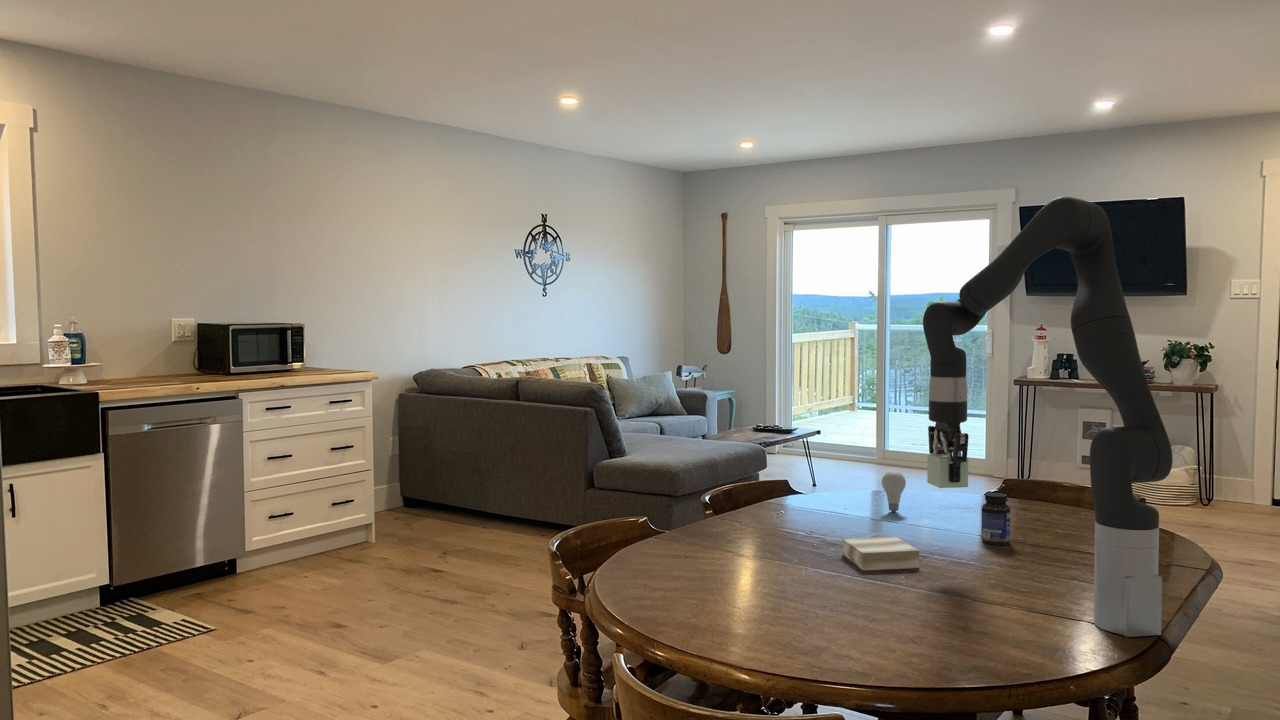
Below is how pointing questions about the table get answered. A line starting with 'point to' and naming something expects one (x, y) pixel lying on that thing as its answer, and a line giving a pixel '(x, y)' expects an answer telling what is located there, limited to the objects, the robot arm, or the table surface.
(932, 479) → the sage block
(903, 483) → the lightbulb
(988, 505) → the pill bottle
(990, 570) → the table surface
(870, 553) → the birch block
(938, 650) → the table surface
